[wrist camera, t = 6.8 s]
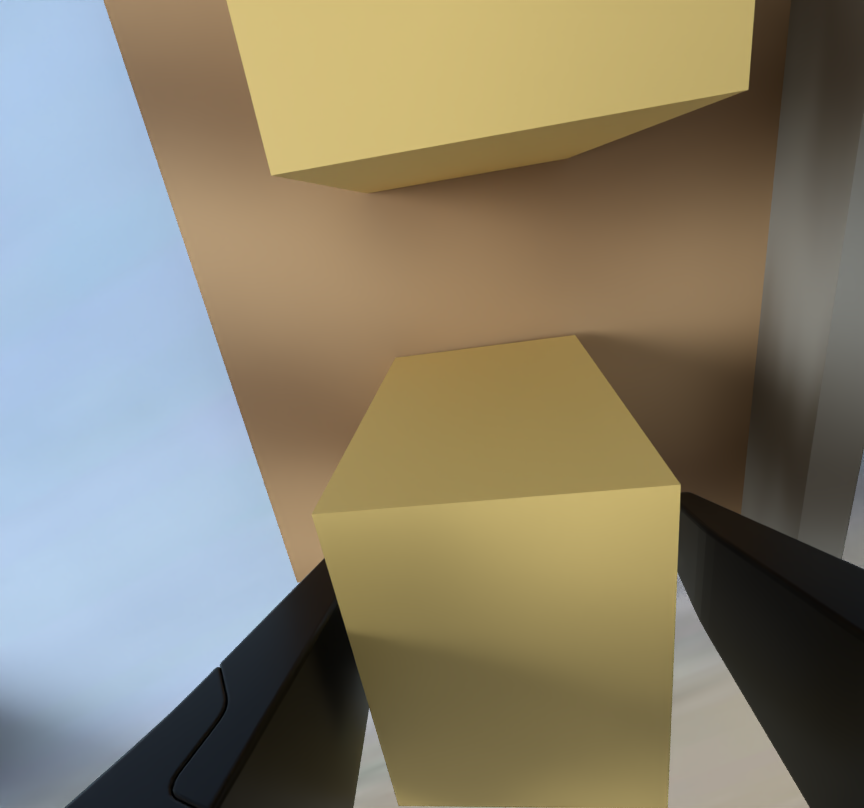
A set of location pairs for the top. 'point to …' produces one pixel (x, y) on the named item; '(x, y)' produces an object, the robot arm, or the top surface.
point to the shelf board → (547, 268)
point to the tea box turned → (509, 580)
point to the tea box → (475, 80)
